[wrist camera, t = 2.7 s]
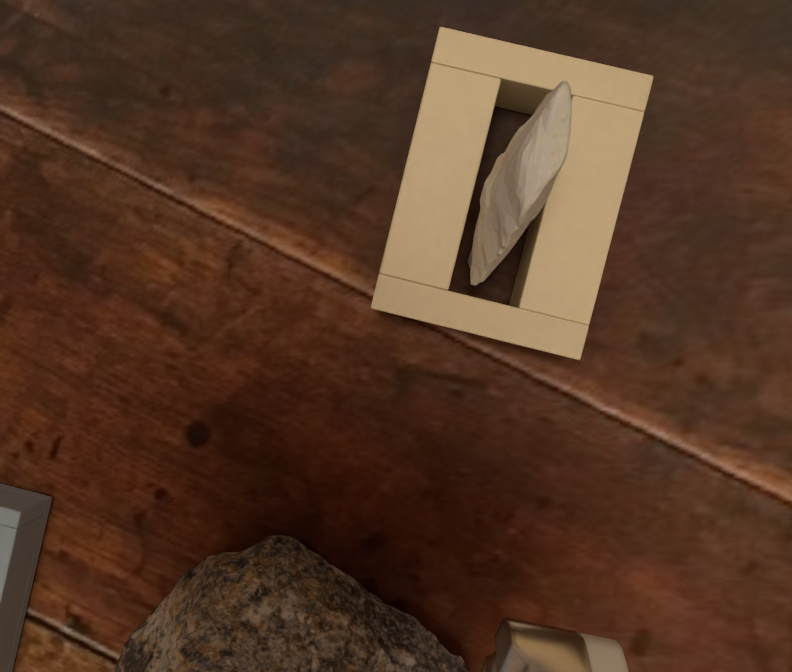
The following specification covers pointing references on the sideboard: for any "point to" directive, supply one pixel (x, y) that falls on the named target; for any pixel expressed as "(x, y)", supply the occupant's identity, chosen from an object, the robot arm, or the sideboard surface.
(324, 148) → the sideboard surface
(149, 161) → the sideboard surface
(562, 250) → the holder
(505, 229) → the arrowhead
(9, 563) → the tray
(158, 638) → the rock
